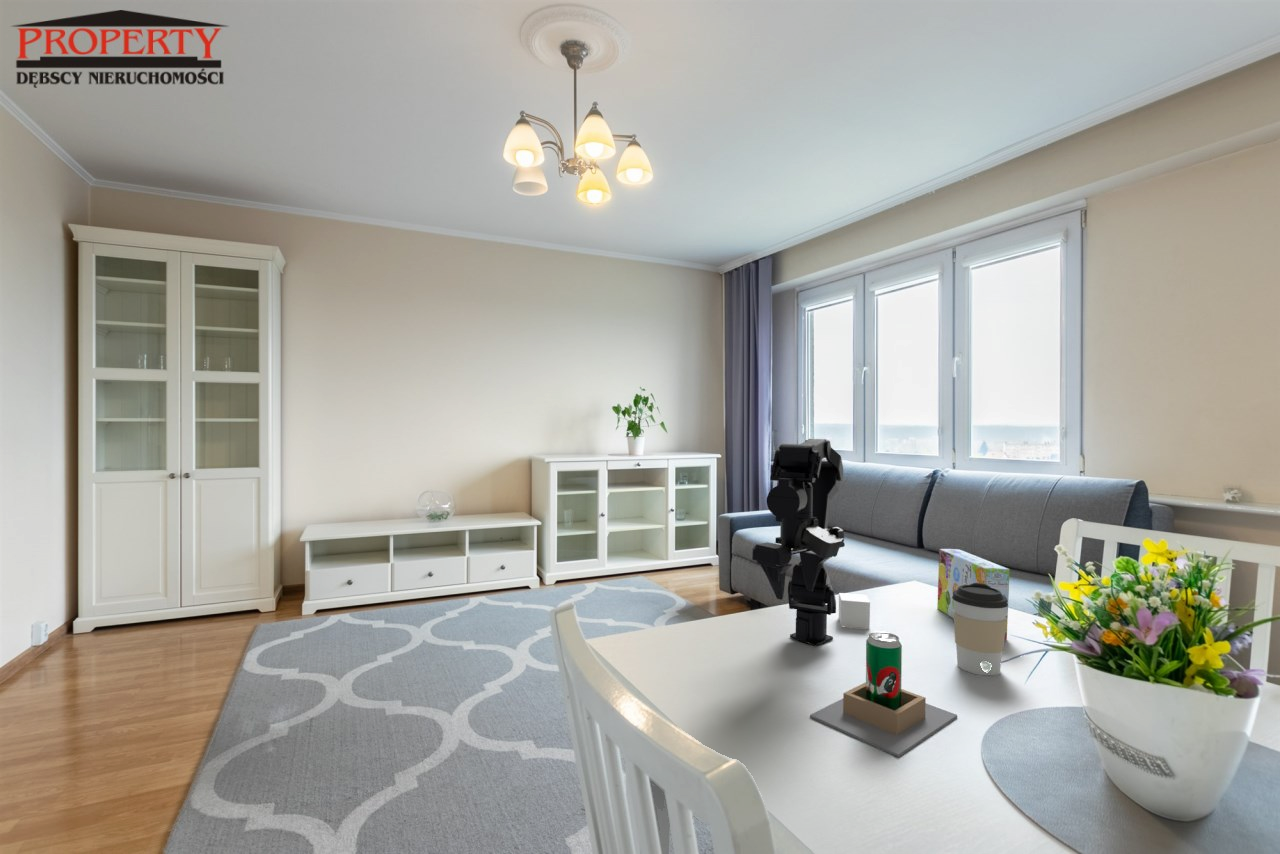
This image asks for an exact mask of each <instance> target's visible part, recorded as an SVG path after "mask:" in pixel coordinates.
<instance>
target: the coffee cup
mask: <svg viewBox="0 0 1280 854" xmlns="http://www.w3.org/2000/svg"><path fill="white" fill-rule="evenodd" d="M952 599H953V600H954V610H953V614H954V619H953V627H954V641H955V646H956V648H955V649H956V661H957V667H958V668H959V669H961V670H964V671H965V672H968V673H970V674H975V675H980V676H987V675H993V676H997V675H1000V673H1001V667H1002V655H1003V654H1002V653H1003V652H1004V648H1005V639H1004V638H1005V628H1006V607H1007V606H1008V607H1009V598H1008V599H1007V598H1006V597H1005V596H1003V595H1002V594H1001V592H1000V591H999V590H997V589H994V588H991V587H990V586H988V585H986V584H980V583H973V584H970V585H961V586H959V588H958V590H955V591H953V596H952ZM1007 601H1008V603H1007ZM982 661H987V662H989V663H991V664H992V667H991V670H990V671H989V672H988V673H986V672H984V671H983V670H982V668H981V666H980V663H981V662H982ZM1000 662H1001V664H1000Z"/></svg>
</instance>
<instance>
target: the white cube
mask: <svg viewBox="0 0 1280 854" xmlns="http://www.w3.org/2000/svg"><path fill="white" fill-rule="evenodd" d="M870 611H871V602H870V599H869V597H868V595H867V594H858V593H845V592H839V593H838V621H840V622H839V625H840V624H841V625H840V627H841V626H845V627H844V628H850V627H852V628H851V629H862V630H870V628H871V627H870V625H871V624H870V623H871V622H870V621H871V619H870V618H871V612H870Z"/></svg>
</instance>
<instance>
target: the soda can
mask: <svg viewBox="0 0 1280 854" xmlns="http://www.w3.org/2000/svg"><path fill="white" fill-rule="evenodd" d="M901 643H902V642H900V638H899V636H898V635H897V634H894V633H891V632H888V631H887V632H886V631H872V632H869V634H868V637H867V639H866V640H865V645H866V647H865V648H866V649H865V682H866V700H869V701H871V702H874V703H876V704H879V705H881V706H884V707H887V708H889V709H892V710H894V711H895V710H897V709H898V708H900V707H901V689H902V676H903V675H902V672H903V671H902V670H903V669H902V661H903V660H902V659H903V655H902V654H903V649H902V647H903V645H902V644H901Z"/></svg>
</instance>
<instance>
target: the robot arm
mask: <svg viewBox="0 0 1280 854" xmlns="http://www.w3.org/2000/svg"><path fill="white" fill-rule="evenodd" d="M843 479H844V465H843V459H842V455H840V454H839V453H838V452H837V451H836V450H835V449H834V448H833V447H832V445H831V441H830V440H828V439H826V438H808V439H805V441H804V442H801V443H781V444H780V445H779V447H778V449H776V450H775V453H774V458H773V463H772V468H771V472H770V477H769V480H770V481H776V482H777V485H776V486H774V487H772V488H771V489H770V490H769V492H768V494H767V497H766V506H767V508H768V510H769V512H770V513H771V514H772V515H773V516H774V517H775V522H777V523H778V522H779V523H780V528H779V530H780V533H779V534H780V536H778V537H775V543H773V542H768V541H767V542H764V543H758V544H755V545H754V546H753V547H752V548H751V560H753V561H756V564H758V565H759V566H760V567H761V568H762V570H763V572H764V574H765V576H766V578H767V580H768V582H769V584H770V586H771V589H772V590H773V593H774V595H775V597H776V599H777V600H780V601H781V600H783V598H784V593H785V585H786V573H787V571H788V570H789V569H790V568H791V567H792V566H793V564H791V563H790V561H791V560H792V557H793V556H794V555H797V554H799V557H800V562H798V563H797V564H796V563H795V565H794V566H793V568H792V575H791V579H789V581H788V586H787V597H788V608H789V609H790V610H796V611H795V613H796V617H795V632H793V633H790V634H789V637H790V638H791V639H795V640H796V641H800V642H803V643H805V644H809V645H812V646H815V647H816V646H819V645H822V644H824V643H827V642H829V641H831V640H834V637H833V636H832V635H829V634H827V632H828V631H827V628H828V627H827V626H828V624H827V622H828V621H827V619H828V617H827V616H831V615H832V614H836V613H837V602H836V601H837V600H836V594H835V591H834V589H833V585H832V584H831V578H830V576H829V573H828V571H827V570H826V568H825V562H827V561H828V560H829V559H831V558H832V557H837V556H838V554H839V550H840V548H845V546H846V545H845V542H844V541H845V535H844V534H845V531H844V530H843V528H841V527H839V526H834V527H831V528H829V529H828V525H829V517H830V508H831V506H830V505H831V500H832V499H833V498H834V497H835V496H836V494H837V493H838V492H839V491H840V484H841V482H842V481H843Z"/></svg>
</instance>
